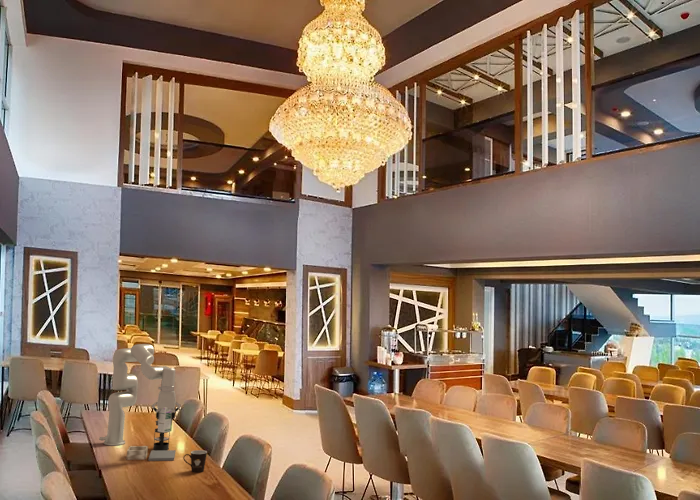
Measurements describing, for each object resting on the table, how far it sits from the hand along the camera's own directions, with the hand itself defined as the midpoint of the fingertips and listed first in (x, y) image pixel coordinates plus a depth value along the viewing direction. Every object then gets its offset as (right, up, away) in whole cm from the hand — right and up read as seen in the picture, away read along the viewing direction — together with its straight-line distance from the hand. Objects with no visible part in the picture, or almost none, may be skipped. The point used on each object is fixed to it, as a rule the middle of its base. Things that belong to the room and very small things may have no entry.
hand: (165, 419), depth 341 cm
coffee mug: (+25, -20, -27) cm, 42 cm away
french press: (-8, -23, +16) cm, 29 cm away
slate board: (-1, -21, -2) cm, 22 cm away
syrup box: (0, -7, -1) cm, 7 cm away
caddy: (-15, -20, -6) cm, 26 cm away
